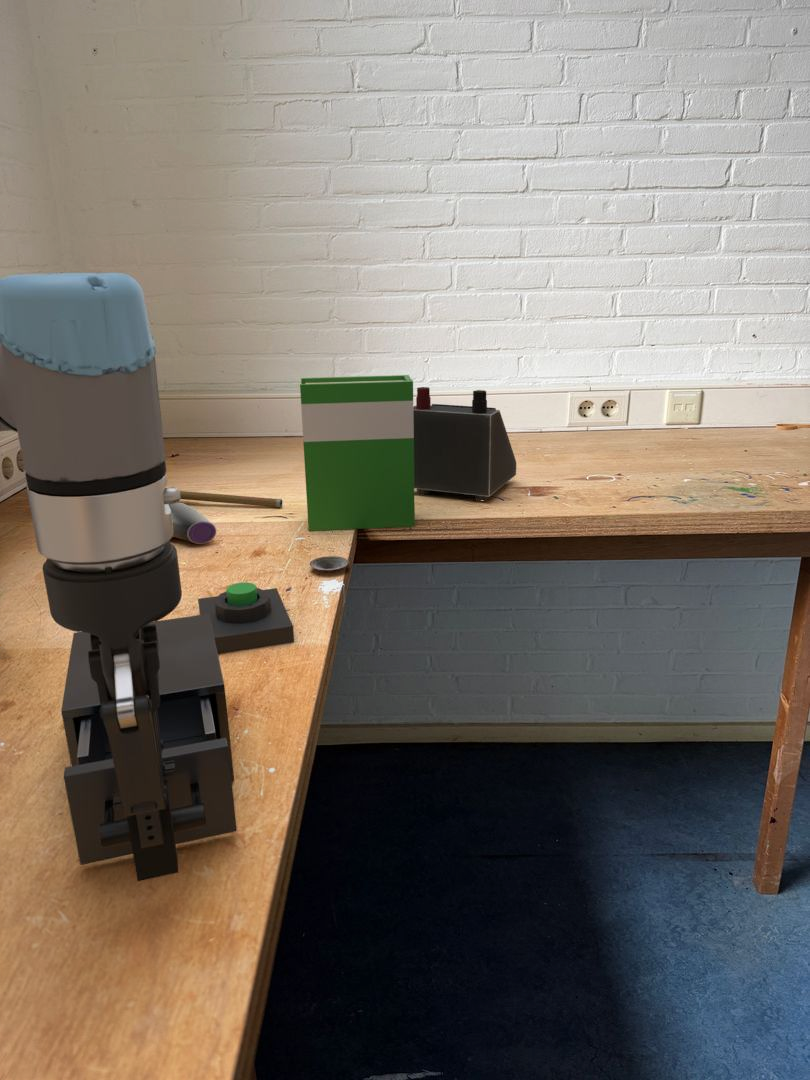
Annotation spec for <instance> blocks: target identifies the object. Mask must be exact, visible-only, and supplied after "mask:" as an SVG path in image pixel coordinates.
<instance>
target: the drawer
mask: <svg viewBox="0 0 810 1080" xmlns="http://www.w3.org/2000/svg"><path fill="white" fill-rule="evenodd" d="M157 715H158V723H159V731H160V739H161V740H162V741H163V746H164V748H163V751H162V760H163V762H168V761H173V760H174V763H175V773H176V774H174V775H169V776H164V777H163V780H164V781H166V780H167V785H168V792H169V799H170V807H171V814H172V821H173V828H174V836H175V843H176V845H179V844H185V843H189V842H194V841H198V840H202V839H207V838H212V837H217V836H222V835H225V834H231V833H235V832H237V831H238V830H237V829H238V827H237V817H236V808H235V799H234V790H233V789H234V788H233V781H232V780H231V771H230V761H229V752H228V744H227V739H226V738H221V739H216V733H215V727H214V721H213V715H212V710H211V704H210V698H209V695H204V696H198V697H192V698H186V699H180V700H174V701H169V702H163V703H160V707H159V709H157ZM77 761H78V765H76V766H71V765H69V766H65V767H64V771H63V781H64V782H63V783H64V785H65V786H64V787H65V791H66V797H67V803H68V807H69V812H70V818H71V823H72V829H73V834H74V839H75V844H76V849H77V854H78V860H79V864H80V866H84V865H88V864H93V863H97V862H102V861H106V860H112V859H115V858H120V857H125V856H129V855H133V852H132V845H131V839H130V833H129V827H128V821H127V817H125V816H124V815H123V811H121V809H117V810H114V809H113V795H115V794H120V792H119V787H118V782H117V777H116V772H115V767H114V762H113V757H112V753H111V748H110V743H109V738H108V734H107V731H106V728H105V725H104V721H103V718H101V716H100V713H98V714H92V715H86V716H81V725H80V734H79V742H78V751H77Z"/></svg>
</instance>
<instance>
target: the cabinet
mask: <svg viewBox="0 0 810 1080" xmlns="http://www.w3.org/2000/svg"><path fill="white" fill-rule="evenodd" d="M149 624H156V628H157V636H158V652H159V663H160V667H159V670H158V673H159V691H160V703H163V702H169V701H174V700H180V699H186V698H192V697H198V696H204V695H209V698H210V704H211V710H212V715H213V721H214V727H215V733H216V739H221V738H226V739H227V744H228V752H229V761H230V771H231V780H232V782H234V781H235V774H234V763H233V754H232V744H231V735H230V726H229V725H230V724H229V716H228V715H229V714H228V708H227V707H228V706H227V697H226V687H225V686H226V685H225V682H224V677H223V672H222V666H221V662H220V658H219V654H218V653H217V648H216V643H215V639H214V634H213V629H212V625H211V620H210V615H209V614H204V615H200V614H196V615H191V616H184V617H175V618H169V619H162V620H161V619H160V620H158V621H153V622H150V623H149ZM149 624H148V625H149ZM90 650H92V648H91V640H90V633H86V632H76V631H75V632H73V634H72V641H71V647H70V653H69V659H68V665H67V671H66V678H65V685H64V691H63V698H62V703H61V710H60V712H61V717H62V723H63V728H64V734H65V739H66V744H67V749H68V750H67V751H68V755H69V760H70V766H76V765H78V761H77V751H78V742H79V734H80V725H81V716H86V715H92V714H98V713H100V709H101V705H100V699H99V693H98V687H97V683H96V682H95V681H94V680H93V679H92V677H91V673H90V667H89V659H88V651H90Z"/></svg>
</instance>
